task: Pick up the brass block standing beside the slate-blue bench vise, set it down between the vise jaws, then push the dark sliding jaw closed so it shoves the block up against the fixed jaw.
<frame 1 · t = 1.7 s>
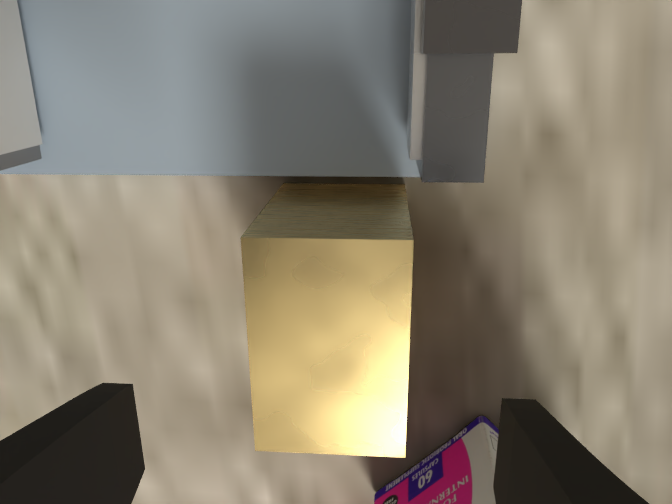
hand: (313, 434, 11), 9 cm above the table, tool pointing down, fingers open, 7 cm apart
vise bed: (227, 4, 17), on the table
brass block: (344, 268, 20), on the table
supplement box: (470, 492, 22), on the table
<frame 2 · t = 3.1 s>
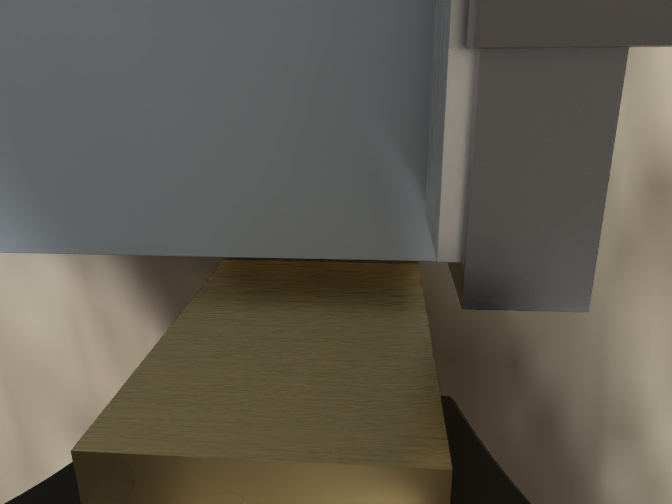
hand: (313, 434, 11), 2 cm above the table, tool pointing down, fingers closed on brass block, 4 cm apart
brass block: (322, 388, 12), on the table, touching gripper
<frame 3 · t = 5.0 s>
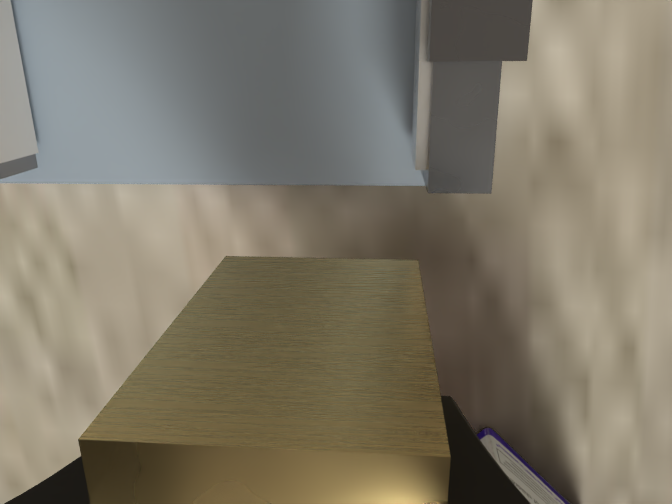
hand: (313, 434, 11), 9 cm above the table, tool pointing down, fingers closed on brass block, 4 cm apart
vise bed: (227, 9, 17), on the table
brass block: (323, 383, 13), point 7 cm above the table, touching gripper
when the fingers open (4 cm above the table, at t = 7.1 s): brass block stays where it is, resting on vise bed.
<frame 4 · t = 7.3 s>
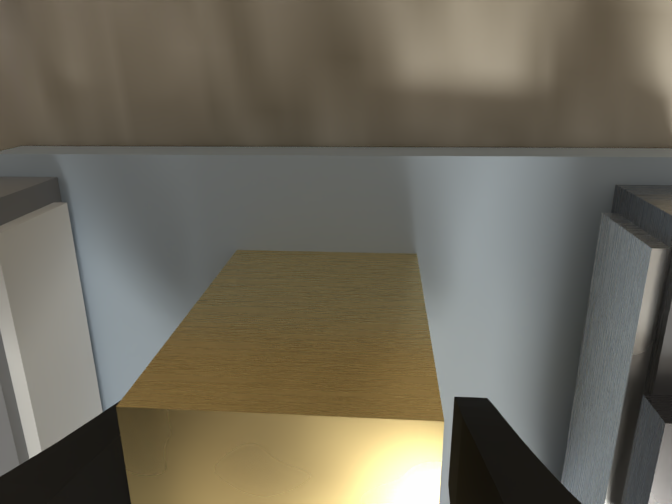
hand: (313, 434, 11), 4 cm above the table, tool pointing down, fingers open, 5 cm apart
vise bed: (335, 341, 14), on the table
sliding jaw: (657, 433, 11), point 3 cm above the table, slide at 0.0 cm
brass block: (327, 370, 13), point 1 cm above the table, touching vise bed
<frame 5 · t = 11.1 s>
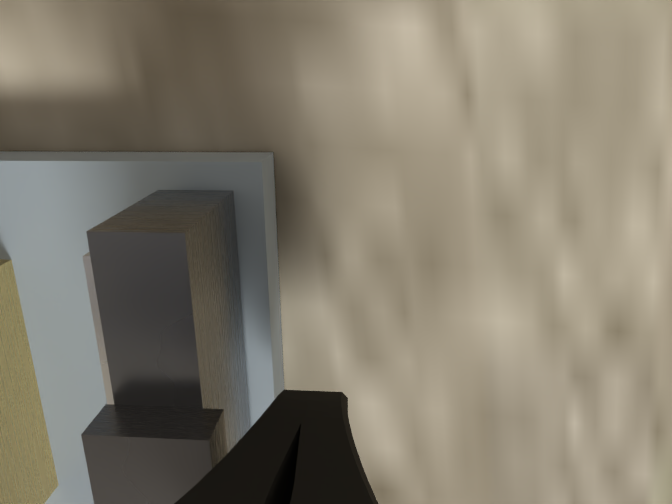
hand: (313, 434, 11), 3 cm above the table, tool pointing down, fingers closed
sliding jaw: (188, 442, 11), point 3 cm above the table, slide at 0.3 cm, touching gripper
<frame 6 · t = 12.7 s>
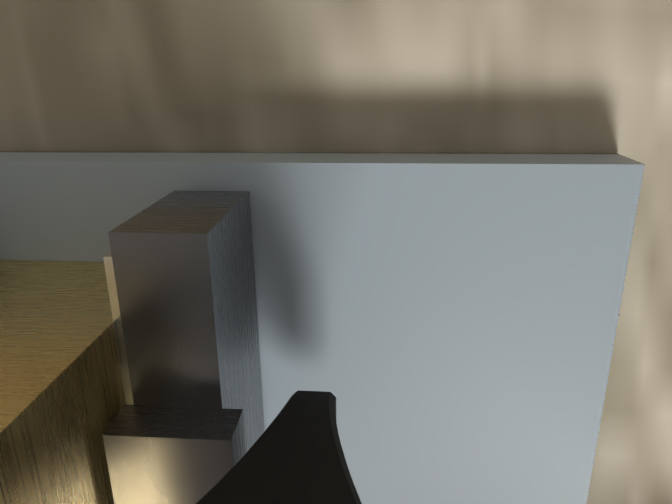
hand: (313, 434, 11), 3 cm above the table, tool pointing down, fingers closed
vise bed: (270, 357, 14), on the table
sliding jaw: (205, 443, 11), point 3 cm above the table, slide at 7.2 cm, touching brass block, gripper
brass block: (102, 383, 13), point 1 cm above the table, touching sliding jaw, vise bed
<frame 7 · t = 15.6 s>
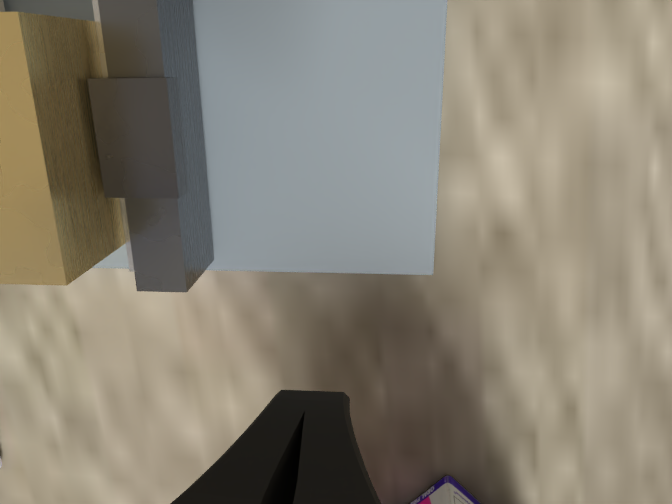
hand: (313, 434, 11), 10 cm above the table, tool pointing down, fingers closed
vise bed: (213, 119, 19), on the table
sliding jaw: (158, 131, 16), point 3 cm above the table, slide at 7.1 cm
brass block: (91, 127, 18), point 1 cm above the table, touching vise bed
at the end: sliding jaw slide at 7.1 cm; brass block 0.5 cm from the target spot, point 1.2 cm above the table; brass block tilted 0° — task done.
